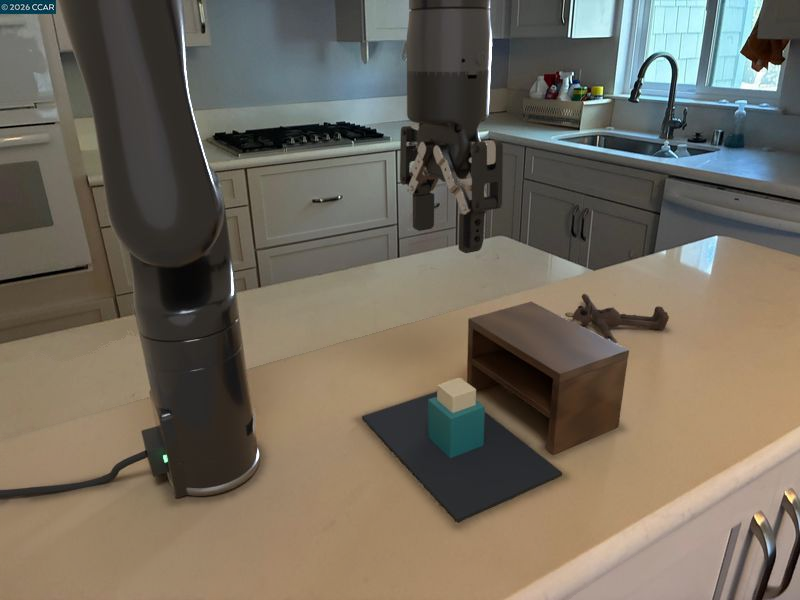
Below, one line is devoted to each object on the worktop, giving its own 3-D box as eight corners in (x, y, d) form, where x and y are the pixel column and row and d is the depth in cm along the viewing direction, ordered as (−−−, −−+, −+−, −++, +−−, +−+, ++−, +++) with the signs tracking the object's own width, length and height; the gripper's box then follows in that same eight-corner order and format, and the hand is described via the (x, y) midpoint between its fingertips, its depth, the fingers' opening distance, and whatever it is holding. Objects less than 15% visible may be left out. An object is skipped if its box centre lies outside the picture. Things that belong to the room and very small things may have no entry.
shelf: (552, 455, 66) (560, 374, 62) (466, 389, 79) (468, 318, 75) (618, 427, 71) (629, 349, 67) (526, 368, 83) (531, 301, 80)
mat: (457, 522, 57) (457, 519, 57) (361, 418, 73) (361, 415, 73) (562, 475, 63) (562, 472, 63) (452, 388, 79) (452, 386, 79)
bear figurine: (689, 334, 85) (584, 325, 85) (681, 362, 87) (578, 353, 87) (646, 286, 102) (559, 279, 102) (640, 310, 103) (554, 302, 103)
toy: (450, 458, 65) (450, 402, 63) (428, 437, 69) (428, 383, 66) (483, 445, 67) (485, 390, 65) (460, 425, 71) (461, 372, 68)
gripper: (375, 65, 59) (379, 228, 65) (458, 69, 48) (453, 266, 54) (440, 63, 62) (439, 218, 69) (533, 67, 51) (521, 252, 57)
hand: (445, 239), depth 61 cm, fingers open, 8 cm apart
